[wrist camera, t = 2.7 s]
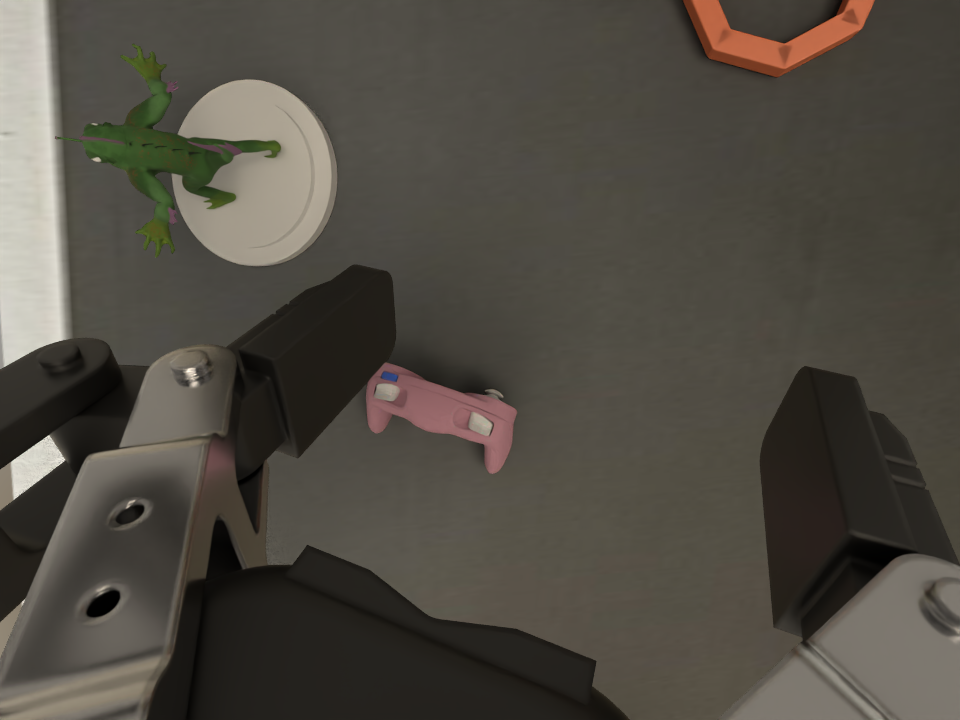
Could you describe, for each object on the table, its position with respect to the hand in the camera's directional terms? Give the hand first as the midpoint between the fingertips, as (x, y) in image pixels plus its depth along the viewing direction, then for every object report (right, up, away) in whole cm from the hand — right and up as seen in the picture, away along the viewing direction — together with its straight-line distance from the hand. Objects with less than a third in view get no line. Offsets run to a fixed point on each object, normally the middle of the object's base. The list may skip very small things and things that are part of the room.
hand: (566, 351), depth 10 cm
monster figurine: (-17, +12, +25) cm, 33 cm away
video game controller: (-4, -3, +25) cm, 25 cm away
